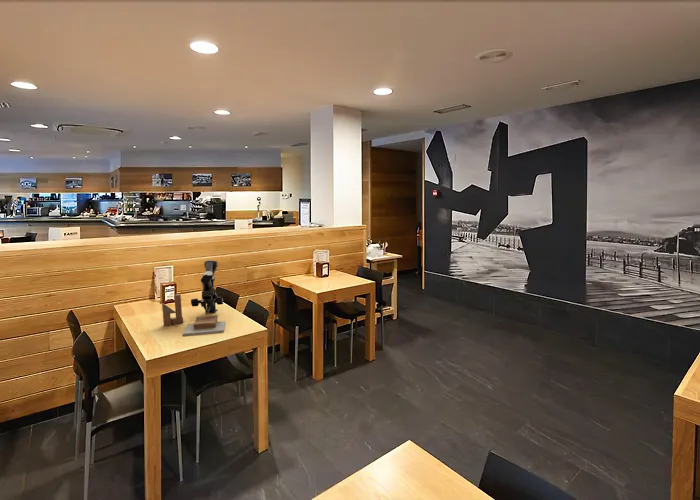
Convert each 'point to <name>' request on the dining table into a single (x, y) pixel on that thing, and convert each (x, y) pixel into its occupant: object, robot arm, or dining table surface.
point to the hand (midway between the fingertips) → (206, 313)
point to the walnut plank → (205, 322)
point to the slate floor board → (204, 329)
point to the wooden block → (168, 311)
